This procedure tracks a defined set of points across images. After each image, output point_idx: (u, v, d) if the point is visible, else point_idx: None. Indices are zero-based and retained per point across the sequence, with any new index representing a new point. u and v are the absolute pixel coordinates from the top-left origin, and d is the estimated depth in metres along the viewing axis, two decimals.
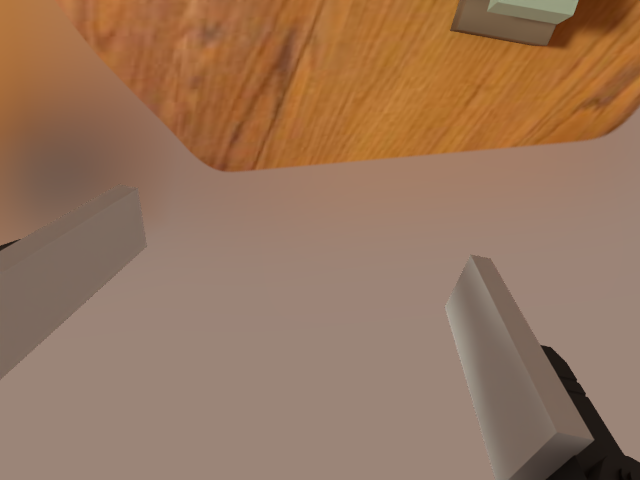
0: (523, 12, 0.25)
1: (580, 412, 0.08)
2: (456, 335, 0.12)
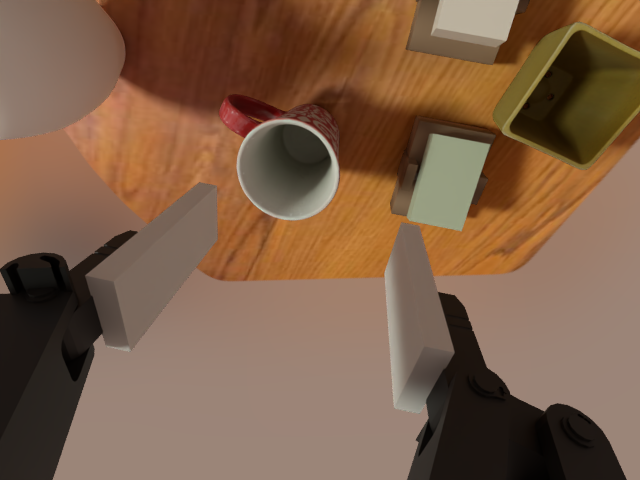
0: None
1: (461, 341, 0.09)
2: (387, 294, 0.13)
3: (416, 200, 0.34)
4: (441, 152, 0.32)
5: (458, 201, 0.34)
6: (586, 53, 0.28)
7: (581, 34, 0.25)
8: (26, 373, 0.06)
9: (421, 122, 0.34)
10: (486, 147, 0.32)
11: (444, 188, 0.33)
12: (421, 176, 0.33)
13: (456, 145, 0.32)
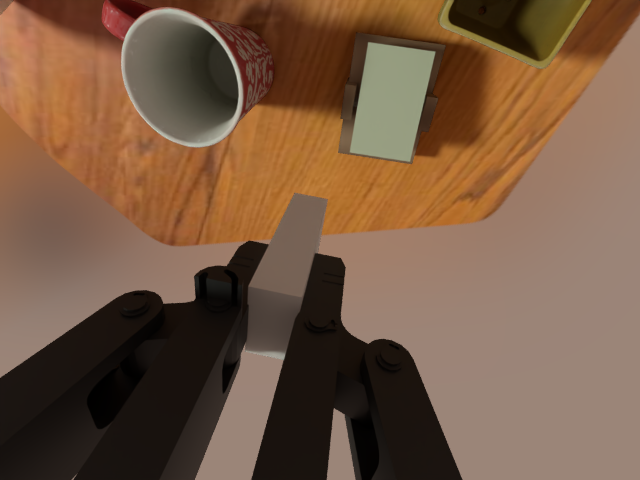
0: None
1: (327, 293, 0.10)
2: None
3: (355, 127, 0.29)
4: (379, 65, 0.27)
5: (403, 126, 0.29)
6: None
7: None
8: (198, 387, 0.06)
9: (358, 34, 0.29)
10: (431, 55, 0.27)
11: (386, 110, 0.29)
12: (359, 97, 0.29)
13: (396, 55, 0.27)
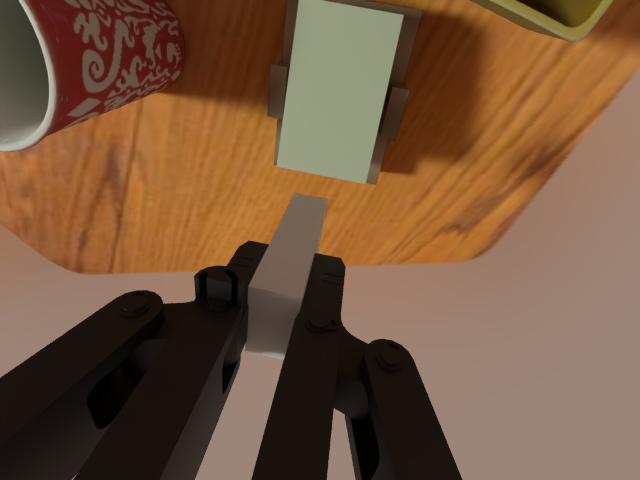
0: None
1: (327, 293, 0.10)
2: None
3: (283, 129, 0.19)
4: (317, 34, 0.18)
5: (355, 130, 0.19)
6: None
7: None
8: (197, 386, 0.06)
9: None
10: (397, 21, 0.17)
11: (329, 106, 0.19)
12: None
13: (342, 18, 0.17)
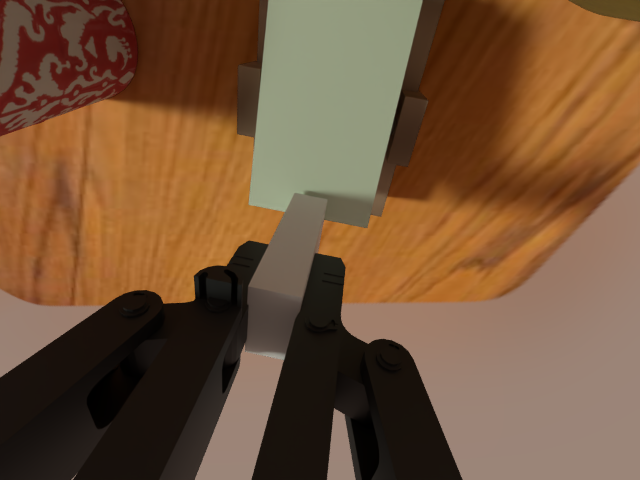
0: None
1: (327, 293, 0.10)
2: None
3: (256, 156, 0.14)
4: (298, 24, 0.12)
5: (353, 158, 0.14)
6: None
7: None
8: (197, 386, 0.06)
9: None
10: (414, 5, 0.12)
11: (318, 125, 0.14)
12: None
13: (335, 1, 0.12)
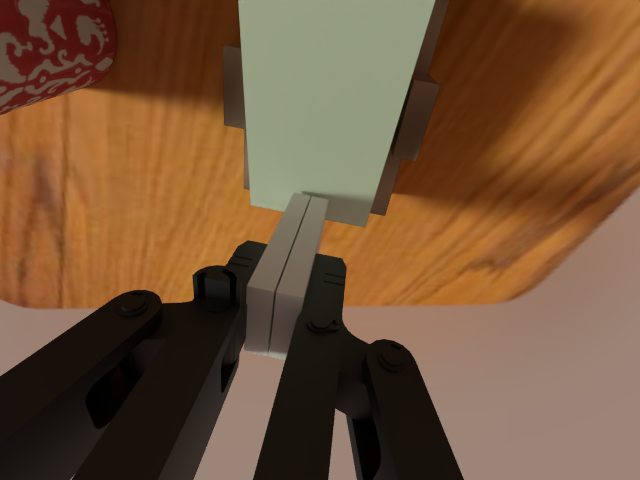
0: None
1: (328, 293, 0.10)
2: None
3: (251, 166, 0.14)
4: (278, 35, 0.10)
5: (350, 171, 0.13)
6: None
7: None
8: (196, 386, 0.06)
9: None
10: (422, 11, 0.09)
11: (311, 141, 0.13)
12: None
13: (321, 7, 0.09)
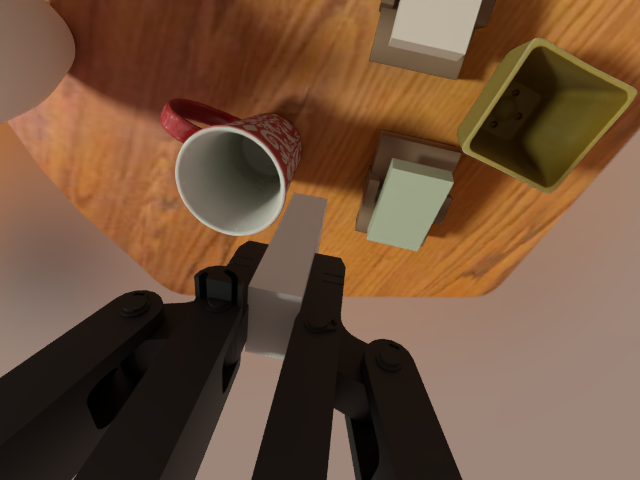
0: None
1: (327, 293, 0.10)
2: None
3: (373, 224, 0.33)
4: (400, 186, 0.30)
5: (415, 229, 0.33)
6: (550, 71, 0.27)
7: (542, 51, 0.23)
8: (198, 386, 0.06)
9: (384, 136, 0.32)
10: (449, 184, 0.29)
11: (402, 217, 0.32)
12: (379, 203, 0.32)
13: (417, 180, 0.29)
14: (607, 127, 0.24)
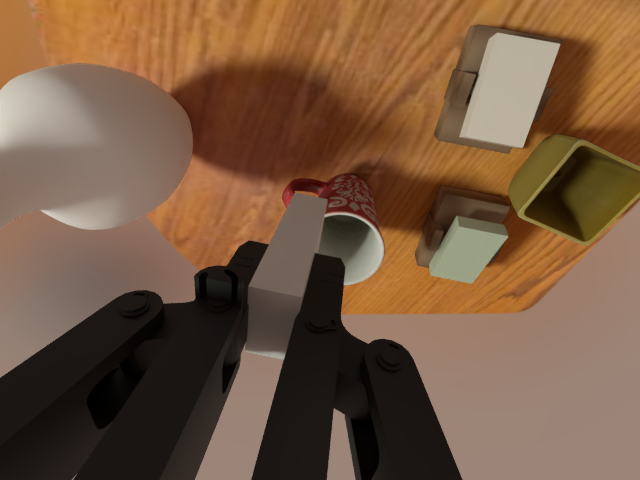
0: None
1: (327, 293, 0.10)
2: None
3: (437, 264, 0.41)
4: (463, 238, 0.38)
5: (472, 267, 0.41)
6: (587, 150, 0.34)
7: (584, 145, 0.31)
8: (197, 386, 0.06)
9: (446, 195, 0.40)
10: (504, 237, 0.37)
11: (462, 259, 0.40)
12: (444, 249, 0.40)
13: (478, 234, 0.37)
14: (634, 200, 0.31)
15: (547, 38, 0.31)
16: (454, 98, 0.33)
